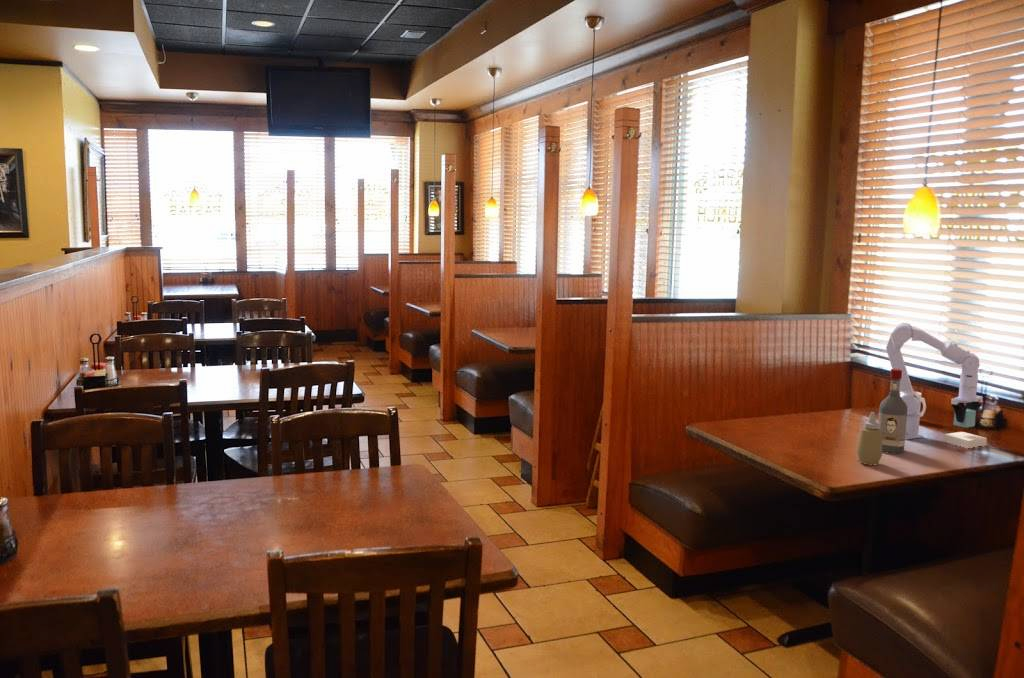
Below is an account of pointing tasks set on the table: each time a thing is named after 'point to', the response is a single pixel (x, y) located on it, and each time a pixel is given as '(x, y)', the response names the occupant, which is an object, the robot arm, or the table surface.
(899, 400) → the liquor
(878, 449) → the squeeze bottle
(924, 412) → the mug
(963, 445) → the base board
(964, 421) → the teal block
